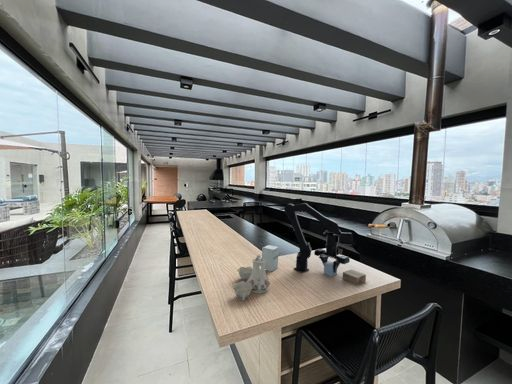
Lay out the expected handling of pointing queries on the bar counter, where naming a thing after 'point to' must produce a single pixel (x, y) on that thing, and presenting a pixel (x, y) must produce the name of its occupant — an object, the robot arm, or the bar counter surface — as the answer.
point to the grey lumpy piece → (252, 279)
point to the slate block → (329, 268)
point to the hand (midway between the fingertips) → (330, 271)
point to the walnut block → (354, 277)
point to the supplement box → (270, 257)
